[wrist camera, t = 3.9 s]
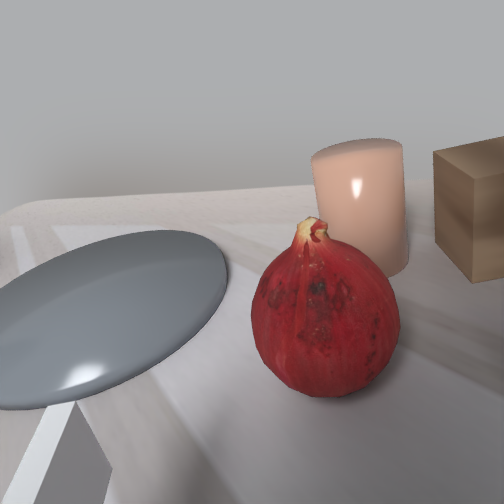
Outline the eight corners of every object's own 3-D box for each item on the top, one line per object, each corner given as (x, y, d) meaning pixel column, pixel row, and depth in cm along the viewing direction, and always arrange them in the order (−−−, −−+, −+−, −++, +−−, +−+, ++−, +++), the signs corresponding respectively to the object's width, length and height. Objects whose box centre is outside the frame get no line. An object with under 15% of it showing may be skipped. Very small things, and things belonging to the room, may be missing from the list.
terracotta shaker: (393, 235, 30) (386, 132, 27) (420, 272, 26) (415, 155, 23) (320, 249, 31) (305, 150, 27) (335, 288, 26) (318, 176, 23)
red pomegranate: (412, 444, 16) (400, 256, 13) (260, 442, 18) (210, 273, 14) (397, 339, 21) (385, 182, 18) (278, 344, 23) (245, 200, 19)
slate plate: (229, 223, 38) (226, 213, 37) (224, 374, 22) (219, 358, 21) (27, 266, 39) (22, 256, 38) (-118, 437, 23) (-129, 424, 22)
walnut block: (515, 226, 28) (521, 132, 25) (568, 265, 24) (582, 156, 21) (435, 242, 28) (433, 151, 26) (472, 284, 24) (474, 178, 21)
